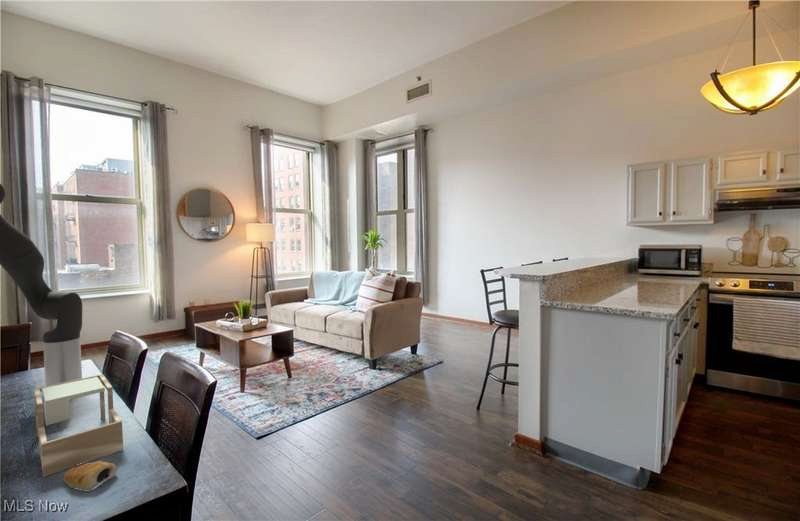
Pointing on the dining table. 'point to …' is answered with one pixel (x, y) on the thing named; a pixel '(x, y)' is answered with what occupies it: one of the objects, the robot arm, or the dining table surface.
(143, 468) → the dining table surface
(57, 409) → the white rectangular block
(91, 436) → the trapdoor frame
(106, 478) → the pastry
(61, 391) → the trapdoor
